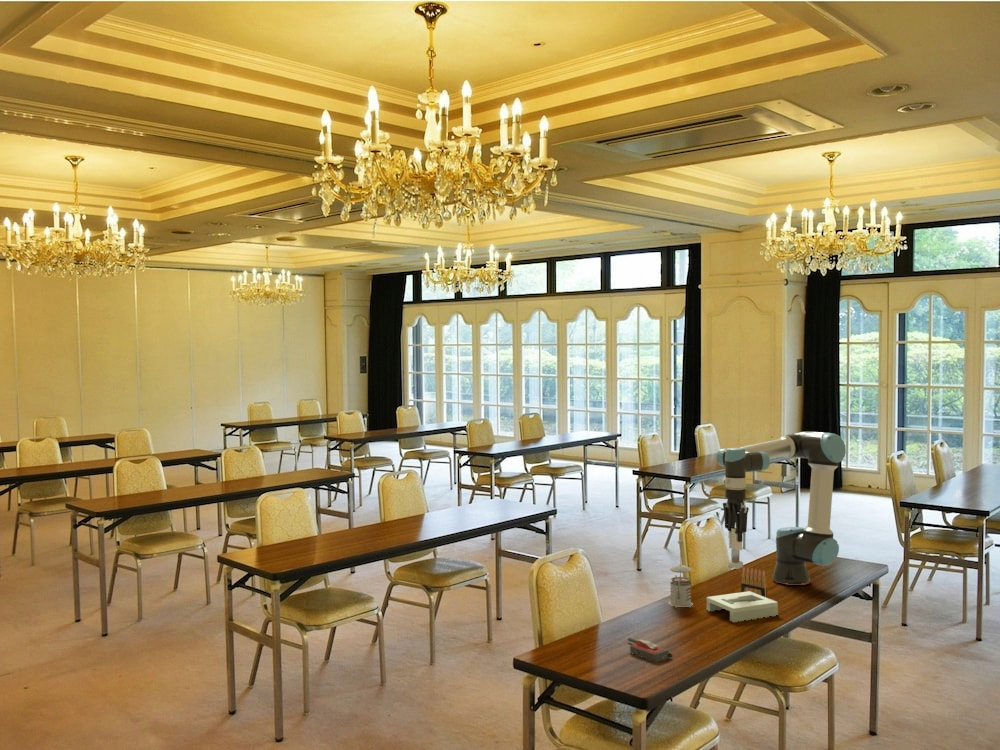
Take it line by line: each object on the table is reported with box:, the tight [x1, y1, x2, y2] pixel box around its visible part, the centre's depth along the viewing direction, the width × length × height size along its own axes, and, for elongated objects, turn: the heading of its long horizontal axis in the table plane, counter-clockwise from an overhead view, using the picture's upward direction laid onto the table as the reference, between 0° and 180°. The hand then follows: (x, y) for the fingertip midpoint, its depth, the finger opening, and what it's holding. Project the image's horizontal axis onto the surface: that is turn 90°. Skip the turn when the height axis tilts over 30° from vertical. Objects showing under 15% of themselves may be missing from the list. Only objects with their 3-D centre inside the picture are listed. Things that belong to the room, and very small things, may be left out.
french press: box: [667, 539, 694, 608], centre depth 317 cm, size 10×12×25 cm
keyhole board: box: [706, 591, 779, 623], centre depth 306 cm, size 20×16×5 cm
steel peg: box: [727, 527, 744, 570], centre depth 315 cm, size 6×6×15 cm
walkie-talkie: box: [627, 637, 673, 663], centre depth 265 cm, size 9×4×20 cm
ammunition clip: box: [740, 566, 768, 598], centre depth 325 cm, size 11×2×12 cm, turn 42°
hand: (735, 548), depth 315 cm, fingers closed on steel peg, 3 cm apart
